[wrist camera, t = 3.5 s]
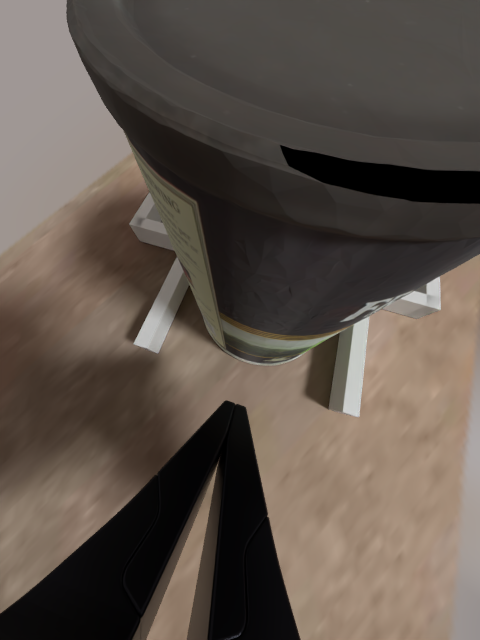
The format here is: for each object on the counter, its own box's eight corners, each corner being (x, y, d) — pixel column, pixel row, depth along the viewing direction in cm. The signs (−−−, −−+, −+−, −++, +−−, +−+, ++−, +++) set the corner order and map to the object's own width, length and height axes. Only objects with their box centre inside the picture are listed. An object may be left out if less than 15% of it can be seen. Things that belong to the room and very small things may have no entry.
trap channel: (415, 437, 14) (509, 462, 9) (86, 330, 16) (23, 304, 11) (419, 189, 22) (470, 132, 17) (200, 138, 24) (191, 75, 19)
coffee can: (347, 297, 17) (733, -20, 4) (275, 395, 14) (737, 460, 1) (254, 233, 19) (297, -120, 6) (175, 308, 16) (-77, -32, 3)
